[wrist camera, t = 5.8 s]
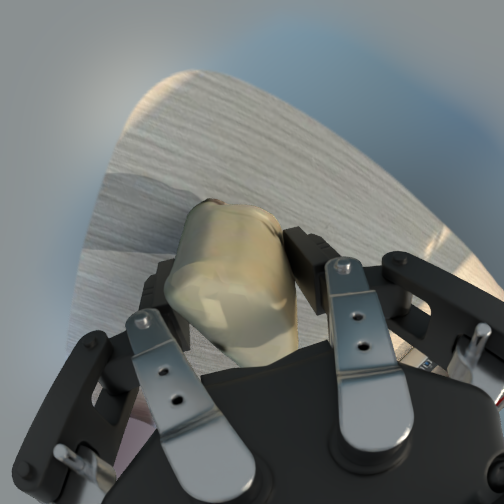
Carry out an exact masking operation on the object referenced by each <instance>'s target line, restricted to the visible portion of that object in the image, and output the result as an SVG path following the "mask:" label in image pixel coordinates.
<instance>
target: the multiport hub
mask: <svg viewBox="0 0 504 504" xmlns="http://www.w3.org/2000/svg"><path fill="white" fill-rule="evenodd" d="M400 362H401V363H404V364H407V365H410V366H413V367H416V368H420V369H423V370H426V371H429V372H431V371H432V370H433V369H434V368H435V367H436V366H437V365H438V364H436V363H435V362H434V361H432V360H431V359H429V358H428V357H427V356H425V355H424V354H423V353H421V352H420V351H419V350H417V349H416V348H413V349H412V350H411V351H410V352H409V353H408V354H407V355H406V356H405V357H404V358H403V359H402V360H401V361H400Z"/></svg>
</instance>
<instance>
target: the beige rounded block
mask: <svg viewBox="0 0 504 504" xmlns="http://www.w3.org/2000/svg"><path fill="white" fill-rule="evenodd" d="M164 295H165V299H166V300H167V302H168V303H169V305H170V306H171V307H172V309H174V310H175V311H176V312H177V313H179V314H180V315H181V316H182V317H183V318H184V319H186V320H187V321H188V322H189V323H190V324H191V325H192V326H193V327H195V328H196V329H197V330H198V331H199V332H200V333H201V334H202V335H203V336H204V337H205V338H206V339H208V340H209V341H210V342H211V343H212V344H213V345H214V346H215V347H216V348H218V349H219V350H220V351H221V352H222V353H223V354H224V355H226V356H227V357H229V358H230V359H232V360H233V361H234V362H235V363H236V364H237V365H238V366H239V367H241V368H244V367H258V366H267V365H269V364H271V363H273V362H275V361H277V360H279V359H281V358H283V357H285V356H287V355H289V354H290V353H292V352H294V351H296V350H298V331H297V301H296V288H295V277H294V274H293V271H292V268H291V265H290V262H289V259H288V257H287V254H286V251H285V247H284V241H283V234H282V229H281V227H280V224H279V223H278V221H277V220H276V218H275V217H274V216H273V215H272V214H270V213H268V212H267V211H265V210H263V209H261V208H259V207H256V206H252V205H238V204H226V203H225V202H223V201H220V200H217V199H211V198H208V199H206V200H205V201H203V202H201V203H199V204H198V205H196V206H195V207H194V208H193V209H192V210H191V211H190V212H189V214H188V215H187V219H186V222H185V225H184V229H183V233H182V236H181V239H180V242H179V246H178V250H177V254H176V257H175V261H174V264H173V267H172V270H171V272H170V275H169V276H168V278H167V280H166V282H165V284H164Z"/></svg>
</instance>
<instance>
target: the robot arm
mask: <svg viewBox="0 0 504 504" xmlns="http://www.w3.org/2000/svg"><path fill="white" fill-rule="evenodd" d="M282 234H283V241H284V247H285V251H286V254H287V257H288V259H289V262H290V265H291V268H292V271H293V274H294V277H295V282H296V283H297V285H298V286H299V288H300V289H301V291H302V293H303V294H304V296H305V297H306V299H307V300H308V302H309V304H310V305H311V307H312V308H313V310H314V312H315V313H316V315H317V316H318V315H321V314H324V313H326V314H327V321H328V336H329V342H328V340H325V341H322V342H319V343H316V344H313V345H310V346H307V347H304V348H301V349H298V350H296V351H294V352H292V353H290V354H289V355H287V356H285V357H283V358H281V359H279V360H277V361H275V362H273V363H271V364H269V365H267V366H258V367H244V368H231V369H226V370H222V371H218V372H214V373H209V374H205V375H201V381H200V380H199V378H198V376H197V375H196V373H195V372H194V370H193V368H192V367H191V365H190V363H189V362H188V360H187V358H186V357H185V355H184V353H183V352H184V351H189V350H190V332H189V322H188V321H187V320H186V319H184V318H183V317H182V316H181V315H180V314H179V313H177V312H176V311H175V310H174V309H172V307H171V306H170V305H169V303H168V302H167V300H166V299H165V295H164V284H165V282H166V280H167V278H168V276H169V275H170V272H171V270H172V267H173V264H174V261H175V259H174V258H173V259H170V260H166V261H162V262H159V263H158V268H157V273H156V274H155V275H151V276H150V277H149V278H148V279H147V280H146V282H145V284H144V288H143V292H142V297H141V301H140V306H139V310H138V311H137V312H135V313H134V314H132V315H131V316H130V317H129V318H128V320H127V321H126V324H125V327H126V331H124V332H122V333H120V334H118V335H116V336H113V337H111V338H108V337H107V335H106V333H105V332H103V331H101V330H96V331H92V332H90V333H88V334H86V335H84V336H83V337H82V338H81V339H80V340H79V341H78V343H77V344H76V346H75V347H74V349H73V351H72V352H71V354H70V356H69V357H68V359H67V361H66V362H65V364H64V366H63V368H62V369H61V371H60V373H59V374H58V376H57V378H56V379H55V381H54V383H53V385H52V387H51V388H50V390H49V392H48V394H47V396H46V397H45V399H44V401H43V403H42V405H41V407H40V409H39V411H38V413H37V415H36V417H35V419H34V421H33V423H32V425H31V427H30V429H29V431H28V433H27V435H26V437H25V439H24V442H23V444H22V446H21V448H20V450H19V453H18V455H17V457H16V460H15V462H14V464H13V468H12V478H13V482H14V484H15V485H16V487H18V489H20V490H21V491H23V492H25V493H26V494H28V495H30V496H32V497H33V498H35V499H37V500H38V501H39V502H41V503H42V504H504V437H503V433H502V428H501V421H500V415H499V411H498V408H497V406H496V403H497V401H498V400H500V399H501V398H502V397H503V396H504V302H503V301H501V300H499V299H498V298H496V297H494V296H492V295H490V294H489V293H487V292H485V291H483V290H481V289H479V288H478V287H476V286H474V285H472V284H470V283H468V282H466V281H464V280H462V279H460V278H458V277H457V276H455V275H453V274H451V273H449V272H447V271H445V270H443V269H441V268H439V267H437V266H435V265H433V264H431V263H428V262H426V261H424V260H422V259H420V258H418V257H416V256H414V255H412V254H410V253H407V252H402V251H393V252H389V253H387V254H385V255H384V256H383V257H382V265H380V266H371V267H362V264H361V262H360V261H359V260H357V259H355V258H352V257H341V256H340V255H339V254H338V253H337V252H336V251H335V250H334V249H333V248H332V247H330V245H329V244H328V243H326V241H325V240H324V239H323V238H322V237H320V236H317V235H315V234H308V235H307V234H306V233H305V232H304V231H303V230H302V229H301V228H300V227H299V226H298V227H294V228H290V229H286V230H283V232H282ZM413 295H415V296H417V297H418V298H420V299H422V300H423V301H425V302H426V303H427V304H428V305H429V306H430V309H431V316H430V315H428V314H427V313H425V312H423V311H422V310H420V309H419V308H417V307H415V306H414V305H412V304H411V302H412V296H413ZM388 329H390V330H391V331H392V332H394V333H395V334H397V335H398V336H399V337H401V338H402V339H403V340H405V341H406V342H408V343H409V344H410V345H412V346H413V347H414V348H416V349H417V350H419V351H420V352H421V353H423V354H424V355H425V356H427V357H428V358H429V359H431V360H432V361H434V362H435V363H436V364H438V365H439V366H440V367H442V368H443V369H444V370H446V371H447V372H448V376H449V378H448V377H445V376H442V375H439V374H435V373H432V372H429V371H426V370H423V369H420V368H416V367H413V366H410V365H407V364H404V363H401V362H398V361H397V359H396V356H395V352H394V348H393V344H392V341H391V337H390V334H389V330H388ZM97 382H99V383H100V384H101V386H102V387H103V388H102V391H101V393H100V395H99V397H98V400H97V402H96V404H95V406H94V407H93V405H92V400H91V397H92V393H93V391H94V389H95V387H96V385H97ZM139 386H141V389H142V391H143V394H144V397H145V399H146V402H147V405H148V407H149V410H150V412H151V415H152V417H153V420H154V422H155V424H156V427H157V429H156V430H155V431H154V433H153V434H152V435H151V437H150V438H149V439H148V441H147V442H146V443H145V445H144V446H143V447H142V448H141V450H140V451H139V453H138V454H137V455H136V456H135V458H134V459H133V460H132V462H131V463H130V464H129V466H128V467H127V468H126V469H125V471H124V472H123V473H122V474H121V476H120V477H119V478H118V480H117V481H116V473H115V470H114V468H113V466H114V462H115V459H116V456H117V453H118V450H119V447H120V444H121V440H122V437H123V434H124V431H125V428H126V426H127V422H128V420H129V417H130V414H131V411H132V408H133V405H134V402H135V400H136V397H137V394H138V391H139Z"/></svg>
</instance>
